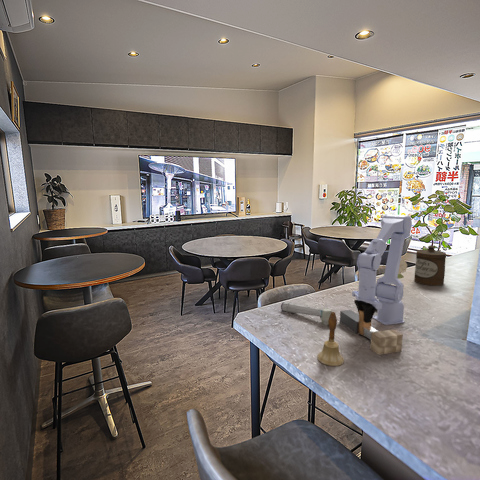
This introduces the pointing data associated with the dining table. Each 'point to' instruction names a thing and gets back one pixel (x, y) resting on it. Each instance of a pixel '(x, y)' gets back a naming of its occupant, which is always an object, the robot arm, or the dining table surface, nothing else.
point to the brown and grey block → (364, 326)
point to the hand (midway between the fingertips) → (365, 320)
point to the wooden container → (430, 267)
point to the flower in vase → (400, 269)
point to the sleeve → (350, 320)
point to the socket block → (386, 341)
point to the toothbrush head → (307, 311)
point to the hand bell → (331, 346)
